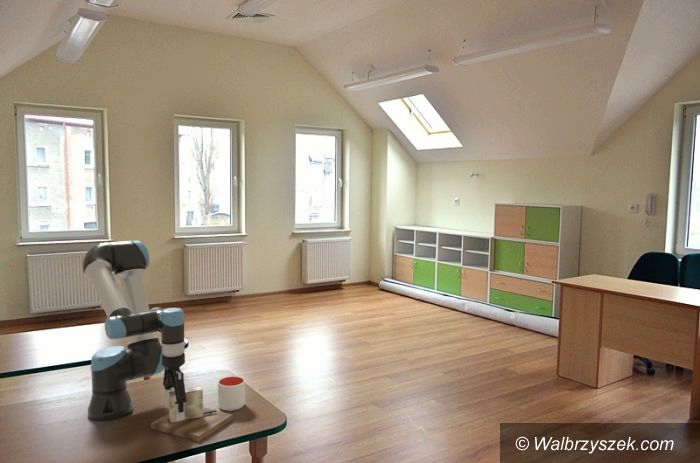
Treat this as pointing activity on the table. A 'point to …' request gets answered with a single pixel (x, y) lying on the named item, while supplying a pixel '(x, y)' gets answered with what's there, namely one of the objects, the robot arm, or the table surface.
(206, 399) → the table surface
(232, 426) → the table surface
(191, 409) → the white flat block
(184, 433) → the board
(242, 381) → the cup
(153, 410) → the table surface
